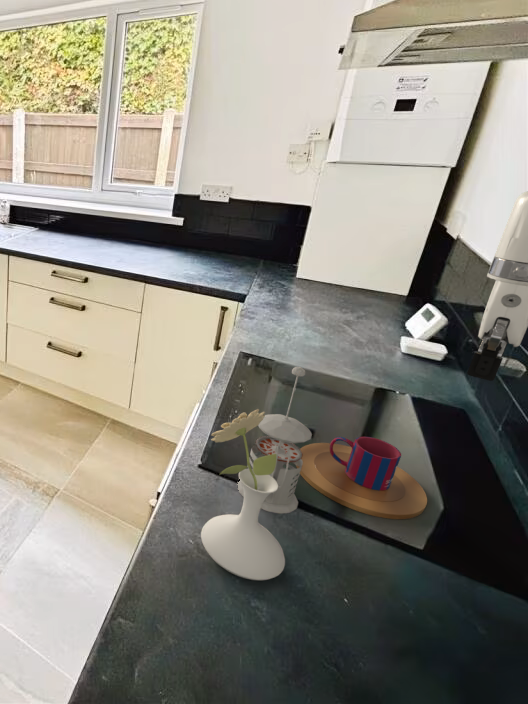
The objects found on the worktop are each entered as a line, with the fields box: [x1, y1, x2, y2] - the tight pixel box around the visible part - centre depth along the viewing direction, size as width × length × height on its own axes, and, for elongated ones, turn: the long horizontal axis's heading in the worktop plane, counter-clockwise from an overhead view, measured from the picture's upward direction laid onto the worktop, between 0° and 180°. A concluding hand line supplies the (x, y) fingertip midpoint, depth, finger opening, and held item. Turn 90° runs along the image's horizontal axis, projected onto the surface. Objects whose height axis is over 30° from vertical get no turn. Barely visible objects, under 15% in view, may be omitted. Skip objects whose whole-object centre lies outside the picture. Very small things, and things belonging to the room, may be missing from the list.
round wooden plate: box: [295, 442, 428, 520], centre depth 85 cm, size 20×20×1 cm
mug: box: [329, 436, 402, 490], centre depth 84 cm, size 7×10×7 cm
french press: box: [236, 366, 313, 514], centre depth 76 cm, size 10×12×25 cm
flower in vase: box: [200, 408, 286, 581], centre depth 65 cm, size 13×11×25 cm
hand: (483, 369), depth 78 cm, fingers open, 9 cm apart
